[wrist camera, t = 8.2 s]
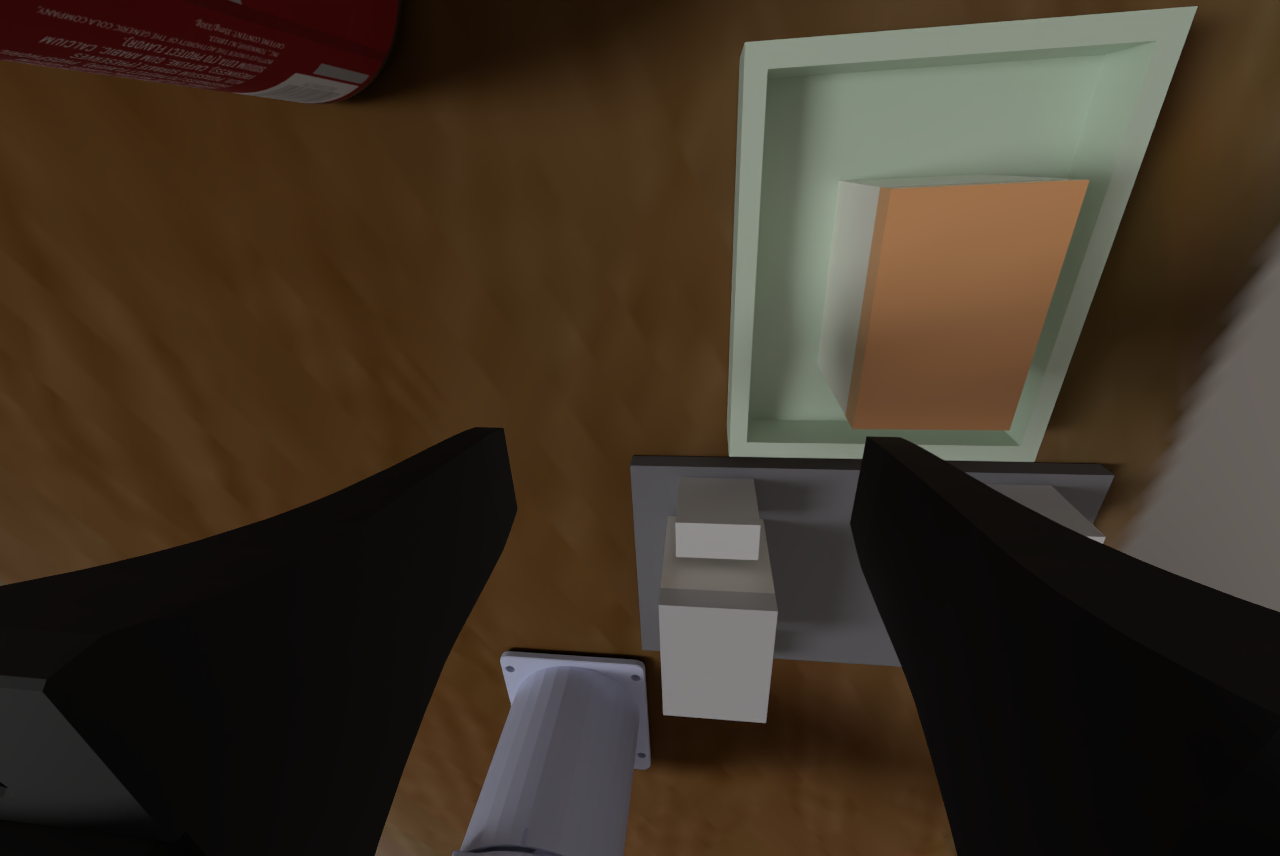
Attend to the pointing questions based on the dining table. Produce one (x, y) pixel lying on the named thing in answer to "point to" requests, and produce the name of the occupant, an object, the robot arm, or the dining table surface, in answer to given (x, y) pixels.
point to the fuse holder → (811, 536)
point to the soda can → (211, 42)
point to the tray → (920, 147)
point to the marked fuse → (941, 295)
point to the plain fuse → (716, 634)
